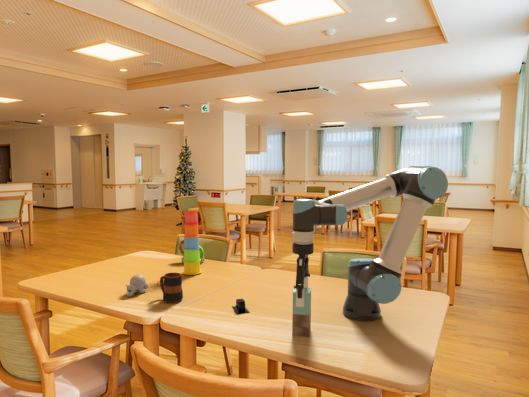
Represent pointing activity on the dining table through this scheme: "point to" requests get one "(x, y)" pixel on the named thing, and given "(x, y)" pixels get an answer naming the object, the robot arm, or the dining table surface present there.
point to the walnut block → (301, 325)
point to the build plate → (240, 307)
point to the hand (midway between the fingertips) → (302, 300)
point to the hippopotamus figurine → (136, 285)
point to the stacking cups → (191, 244)
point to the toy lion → (181, 246)
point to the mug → (172, 287)
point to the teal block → (307, 303)
